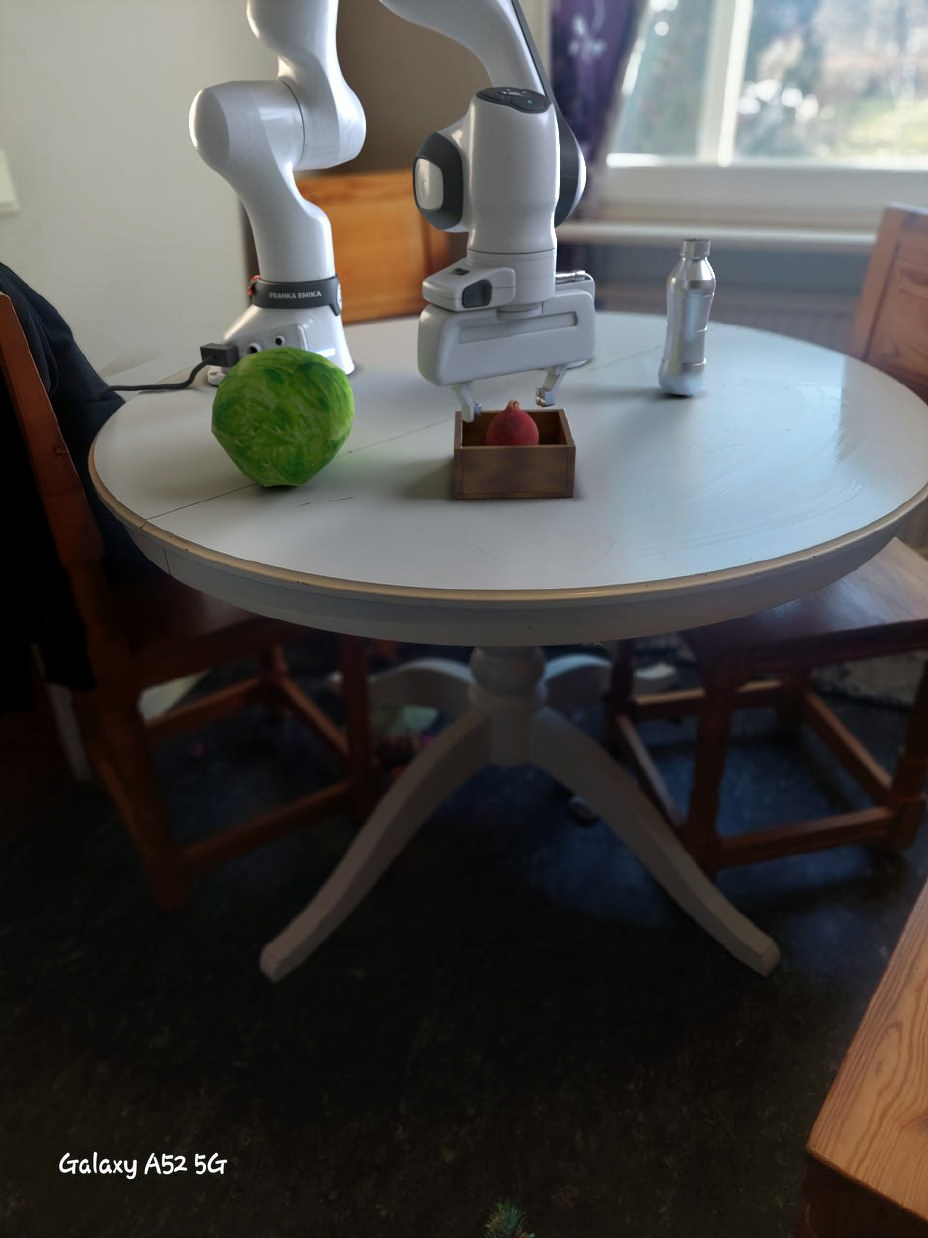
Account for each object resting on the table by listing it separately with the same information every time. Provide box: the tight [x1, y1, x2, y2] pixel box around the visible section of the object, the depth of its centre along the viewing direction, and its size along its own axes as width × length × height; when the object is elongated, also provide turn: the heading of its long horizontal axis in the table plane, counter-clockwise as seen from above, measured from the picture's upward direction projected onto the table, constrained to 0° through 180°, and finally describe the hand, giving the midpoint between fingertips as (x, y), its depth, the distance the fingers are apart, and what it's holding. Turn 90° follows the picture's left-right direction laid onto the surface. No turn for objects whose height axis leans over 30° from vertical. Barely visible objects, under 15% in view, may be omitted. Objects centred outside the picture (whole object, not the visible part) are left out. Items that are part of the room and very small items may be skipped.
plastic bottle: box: [657, 237, 717, 396], centre depth 118 cm, size 6×7×20 cm
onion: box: [486, 398, 539, 446], centre depth 95 cm, size 6×6×8 cm
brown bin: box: [453, 408, 577, 500], centre depth 96 cm, size 13×13×6 cm
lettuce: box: [210, 347, 356, 488], centre depth 99 cm, size 15×22×15 cm
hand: (509, 412), depth 94 cm, fingers open, 8 cm apart
